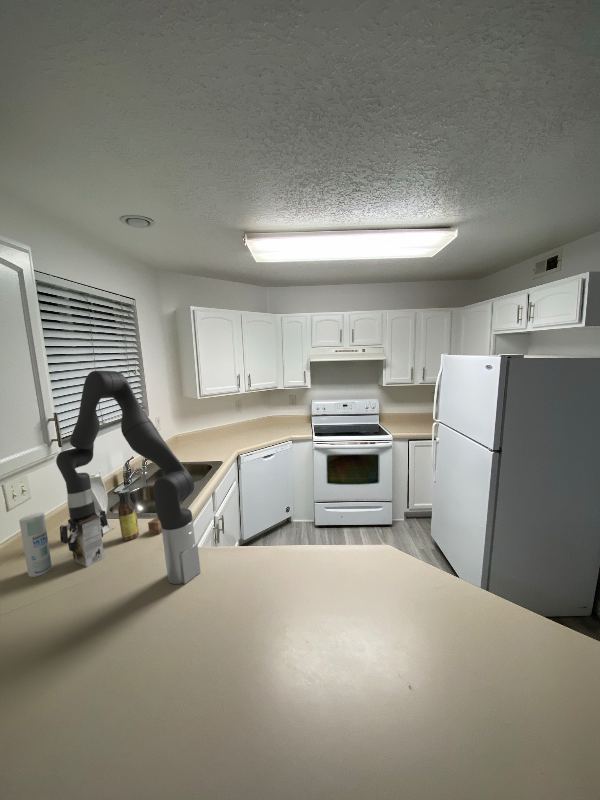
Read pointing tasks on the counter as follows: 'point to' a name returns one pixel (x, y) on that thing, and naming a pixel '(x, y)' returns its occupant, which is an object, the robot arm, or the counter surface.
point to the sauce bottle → (127, 516)
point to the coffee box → (88, 541)
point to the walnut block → (155, 526)
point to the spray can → (35, 544)
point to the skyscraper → (99, 496)
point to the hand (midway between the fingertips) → (87, 545)
